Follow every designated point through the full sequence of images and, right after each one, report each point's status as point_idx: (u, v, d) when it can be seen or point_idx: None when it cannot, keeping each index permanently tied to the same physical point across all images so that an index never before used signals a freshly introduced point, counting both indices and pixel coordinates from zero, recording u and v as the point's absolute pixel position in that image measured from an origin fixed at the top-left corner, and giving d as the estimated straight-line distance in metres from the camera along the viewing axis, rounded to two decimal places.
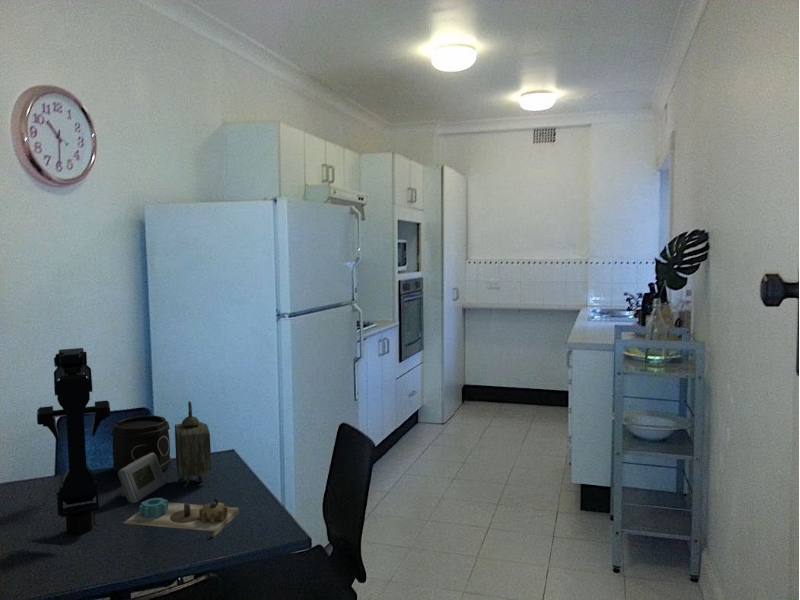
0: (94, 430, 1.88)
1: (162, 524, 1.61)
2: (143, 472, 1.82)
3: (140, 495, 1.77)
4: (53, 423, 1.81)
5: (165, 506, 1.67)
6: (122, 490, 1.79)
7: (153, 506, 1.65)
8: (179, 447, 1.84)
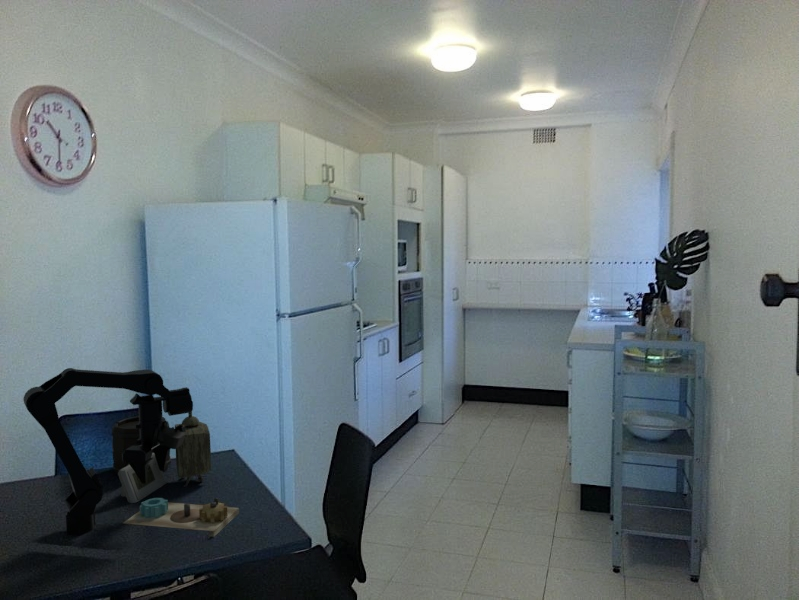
0: None
1: (162, 524, 1.61)
2: None
3: (140, 495, 1.77)
4: None
5: (165, 506, 1.67)
6: (122, 490, 1.79)
7: (153, 506, 1.65)
8: (179, 447, 1.84)
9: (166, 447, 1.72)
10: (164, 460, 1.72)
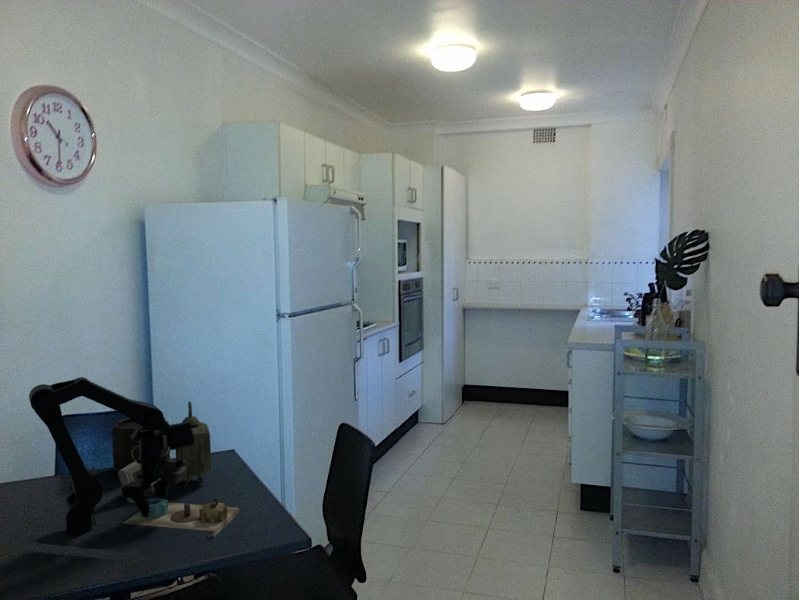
0: None
1: (162, 524, 1.61)
2: None
3: None
4: None
5: (165, 506, 1.67)
6: None
7: (153, 506, 1.65)
8: None
9: (166, 482, 1.71)
10: (164, 495, 1.71)
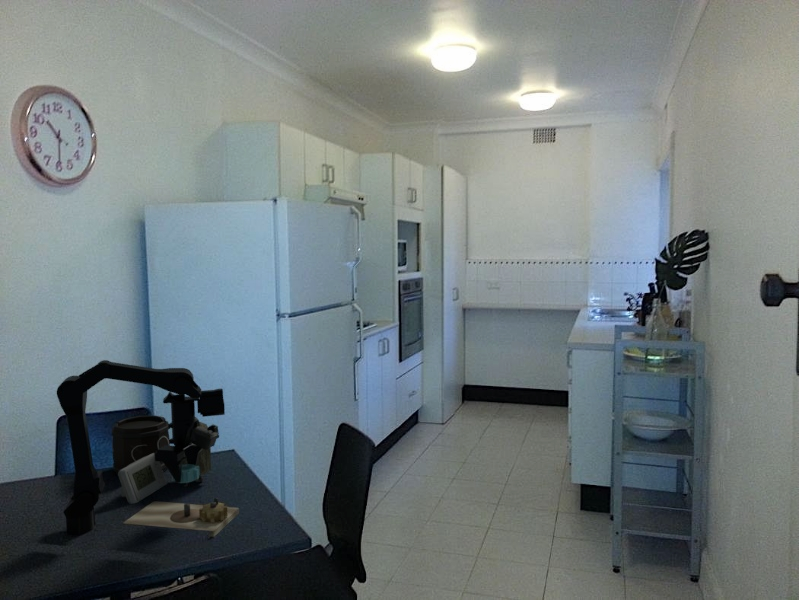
0: None
1: (162, 524, 1.61)
2: (143, 473, 1.81)
3: (140, 496, 1.77)
4: None
5: (197, 472, 1.64)
6: (122, 490, 1.79)
7: (185, 471, 1.62)
8: None
9: (197, 448, 1.68)
10: (195, 462, 1.68)
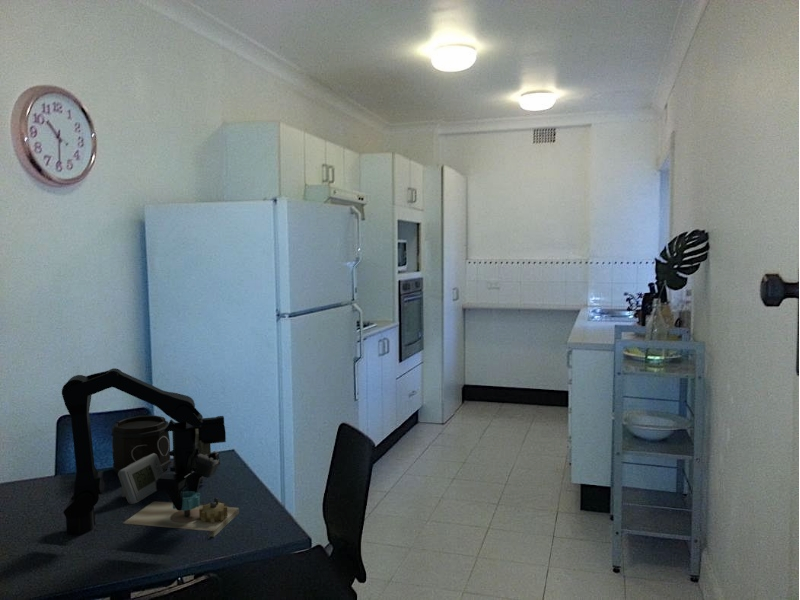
0: None
1: (162, 524, 1.61)
2: (144, 473, 1.81)
3: (140, 496, 1.77)
4: None
5: (198, 499, 1.65)
6: (122, 491, 1.79)
7: (186, 499, 1.63)
8: None
9: (198, 475, 1.69)
10: (196, 488, 1.69)
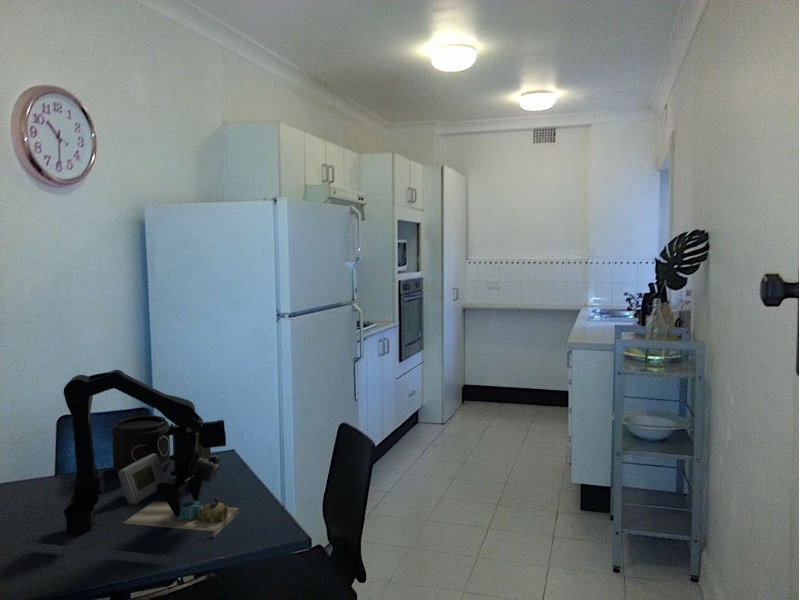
0: None
1: (162, 524, 1.61)
2: (144, 473, 1.81)
3: (140, 496, 1.76)
4: None
5: (198, 508, 1.65)
6: (122, 491, 1.78)
7: (187, 508, 1.63)
8: None
9: (200, 478, 1.70)
10: (198, 491, 1.70)
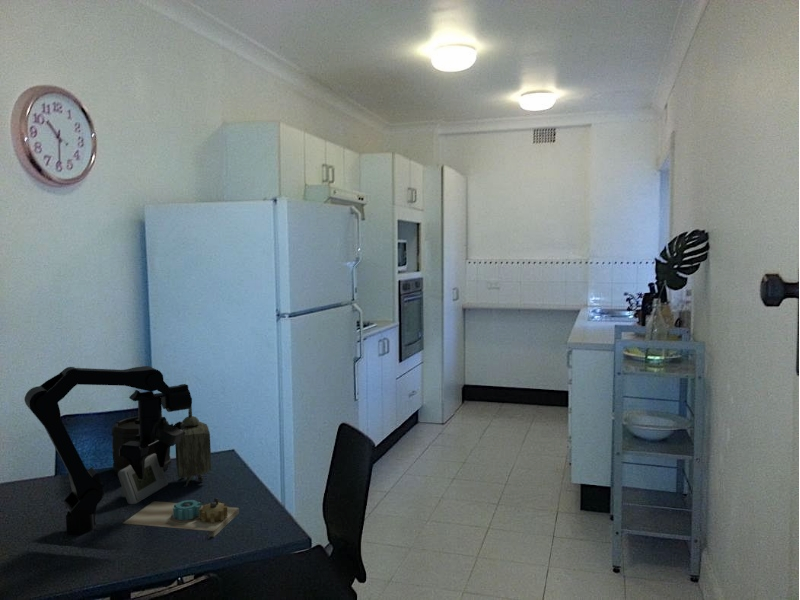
0: None
1: (162, 524, 1.61)
2: (144, 473, 1.81)
3: (140, 496, 1.76)
4: None
5: (198, 508, 1.65)
6: (123, 491, 1.78)
7: (187, 508, 1.63)
8: (179, 447, 1.84)
9: (166, 444, 1.73)
10: (164, 457, 1.73)
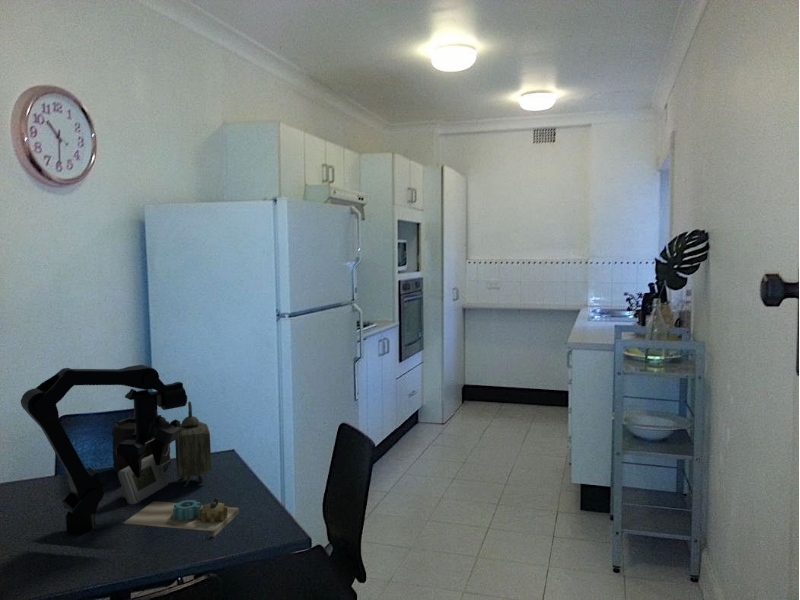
0: None
1: (162, 524, 1.61)
2: (144, 473, 1.81)
3: (140, 496, 1.76)
4: None
5: (198, 508, 1.65)
6: (123, 491, 1.78)
7: (187, 508, 1.63)
8: (179, 447, 1.84)
9: (162, 442, 1.73)
10: (160, 455, 1.73)
